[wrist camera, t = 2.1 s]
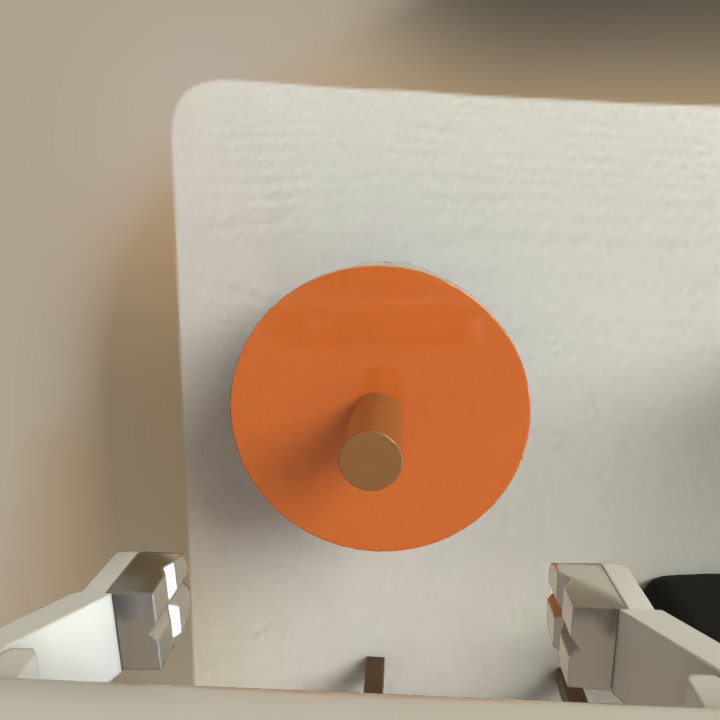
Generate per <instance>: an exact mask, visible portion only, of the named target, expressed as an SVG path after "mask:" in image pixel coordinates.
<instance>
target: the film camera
mask: <svg viewBox="0 0 720 720" xmlns="http://www.w3.org/2000/svg"><path fill="white" fill-rule="evenodd" d="M644 594H645V595H646V597H647V598H648V600H649V602H650V603H651V605H652V606H653V608H654V609H655V610H663V611H665V612H666V613H668V614H670V615H672V616H673V617H675V618H677V619H679V620H680V621H682V622H684V623H686V624H687V625H689V626H691V627H692V628H694V629H696V630H698V631H699V632H701V633H703V634H705V635H706V636H708V637H710V638H712V639H713V640H715V641H717V642H719V643H720V574H698V575H675V576H664V577H659V578H657V579H655V580H654V581H652V582H651V583H650V585H649V586H648V587H647V588H646V589H645V591H644Z"/></svg>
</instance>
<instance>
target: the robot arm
mask: <svg viewBox="0 0 720 720" xmlns="http://www.w3.org/2000/svg"><path fill="white" fill-rule="evenodd" d="M187 572H188V567H187V559H186V557H185V556H184V554H182V553H160V552H159V553H158V552H139V551H121V552H116V553H115V555H114V556H113V557H112V558H111V559H110V560H109V561H108V562H107V563H106V565H105V566H104V567H103V568H102V569H101V570H100V571H99V573H98V574H97V575H96V576H95V577H94V578H93V579H92V580H91V582H90V583H89V584H88V585H87V586H86V587H85V588H84V590H83V591H82V592H74V593H72V594H69V595H68V596H65V597H63V598H61V599H59V600H57V601H55V602H53V603H50V604H48V605H46V606H44V607H42V608H40V609H38V610H36V611H33V612H32V613H29V614H27V615H25V616H23V617H21V618H19V619H17V620H15V621H12V622H10V623H8V624H6V625H4V626H2V627H0V720H720V643H719V642H717V641H715V640H713V639H712V638H710V637H708V636H706V635H705V634H703V633H701V632H699V631H698V630H696V629H694V628H692V627H691V626H689V625H687V624H686V623H684V622H682V621H680V620H679V619H677V618H675V617H673V616H672V615H670V614H668V613H666V612H665V611H663V610H655V609H654V608H653V606H652V605H651V603H650V602H649V600H648V598H647V597H646V595H645V594H644V592H643V591H642V589H641V588H640V586H639V585H638V583H637V582H636V580H635V578H634V577H633V575H632V574H631V572H630V571H629V569H628V568H627V566H626V565H625V564H623V563H551V566H550V570H549V583H550V585H551V588H552V591H553V593H552V595H551V596H550V597H549V598H548V601H547V619H548V629H549V633H550V638H551V641H552V644H553V646H554V647H555V648H557V649H558V650H559V664H560V667H561V670H562V673H563V675H564V678H565V681H566V684H567V687H576V688H591V689H605V690H612V693H613V694H614V695H615V696H617V697H618V698H619V699H620V700H621V701H622V702H623V703H624V704H609V703H586V702H562V701H539V700H516V699H493V698H469V697H446V696H423V695H399V694H376V693H353V692H330V691H307V690H283V689H260V688H237V687H214V686H190V685H167V684H144V683H121V682H109V681H111V680H112V679H113V678H114V677H116V676H117V675H118V674H120V673H121V672H122V670H162V668H163V666H164V664H165V662H166V661H167V659H168V657H169V655H170V653H171V652H172V650H173V648H174V643H173V638H174V637H175V636H177V635H179V634H180V633H182V631H183V629H184V627H185V626H186V623H187V620H188V616H189V612H190V604H191V595H190V588H189V587H188V586H187V585H186V584H185V582H184V581H183V578H184V577H185V575H186V573H187Z"/></svg>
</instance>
